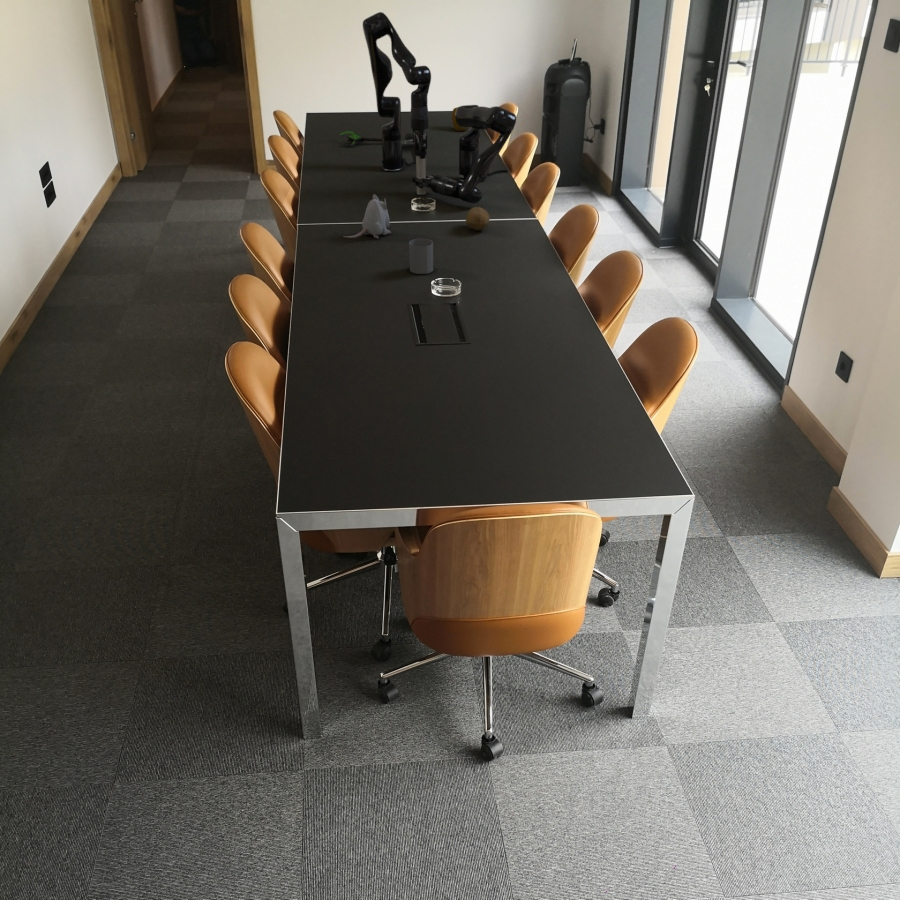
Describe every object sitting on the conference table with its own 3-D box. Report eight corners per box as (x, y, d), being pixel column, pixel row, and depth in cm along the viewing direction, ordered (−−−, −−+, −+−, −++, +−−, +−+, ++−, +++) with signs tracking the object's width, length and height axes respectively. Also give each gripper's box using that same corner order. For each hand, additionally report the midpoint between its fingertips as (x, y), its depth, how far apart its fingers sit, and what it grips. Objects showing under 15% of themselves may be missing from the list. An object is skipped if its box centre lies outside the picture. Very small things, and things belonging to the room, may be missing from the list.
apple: (471, 132, 486) (471, 108, 479) (451, 132, 486) (451, 108, 479) (470, 128, 495) (471, 104, 488) (452, 128, 495) (452, 104, 488)
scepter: (394, 128, 464) (338, 126, 462) (394, 143, 457) (337, 141, 455) (394, 137, 469) (338, 135, 467) (394, 152, 462) (337, 150, 460)
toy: (396, 233, 341) (395, 195, 333) (351, 248, 326) (349, 209, 318) (381, 228, 346) (379, 190, 338) (336, 243, 332) (333, 204, 324)
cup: (409, 265, 311) (408, 238, 306) (432, 265, 312) (431, 238, 307) (410, 274, 304) (409, 246, 299) (433, 273, 305) (433, 246, 299)
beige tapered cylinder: (422, 195, 385) (421, 153, 375) (414, 193, 387) (413, 151, 377) (428, 193, 388) (427, 151, 378) (420, 191, 390) (420, 149, 380)
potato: (487, 223, 352) (488, 203, 348) (491, 234, 340) (491, 214, 336) (463, 223, 351) (463, 204, 347) (466, 235, 340) (466, 214, 335)
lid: (424, 152, 381) (424, 148, 380) (427, 155, 377) (427, 150, 376) (413, 153, 380) (413, 148, 379) (416, 156, 376) (416, 151, 375)
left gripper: (406, 114, 374) (407, 153, 383) (415, 121, 363) (416, 161, 372) (422, 112, 376) (423, 151, 385) (432, 119, 365) (433, 159, 374)
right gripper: (455, 174, 378) (428, 166, 388) (431, 180, 369) (404, 172, 380) (455, 191, 382) (428, 183, 392) (431, 197, 373) (405, 189, 384)
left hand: (420, 156), depth 379 cm, fingers open, 7 cm apart
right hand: (417, 178), depth 386 cm, fingers closed on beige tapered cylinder, 4 cm apart
